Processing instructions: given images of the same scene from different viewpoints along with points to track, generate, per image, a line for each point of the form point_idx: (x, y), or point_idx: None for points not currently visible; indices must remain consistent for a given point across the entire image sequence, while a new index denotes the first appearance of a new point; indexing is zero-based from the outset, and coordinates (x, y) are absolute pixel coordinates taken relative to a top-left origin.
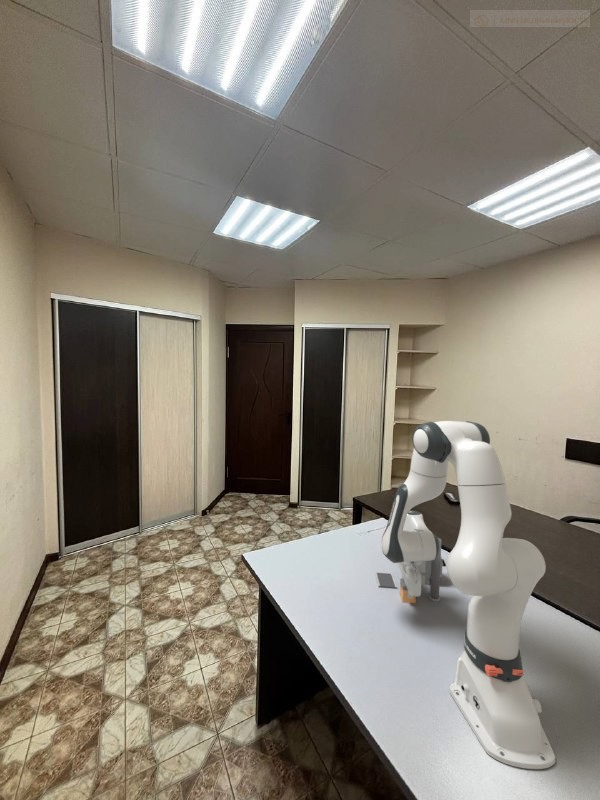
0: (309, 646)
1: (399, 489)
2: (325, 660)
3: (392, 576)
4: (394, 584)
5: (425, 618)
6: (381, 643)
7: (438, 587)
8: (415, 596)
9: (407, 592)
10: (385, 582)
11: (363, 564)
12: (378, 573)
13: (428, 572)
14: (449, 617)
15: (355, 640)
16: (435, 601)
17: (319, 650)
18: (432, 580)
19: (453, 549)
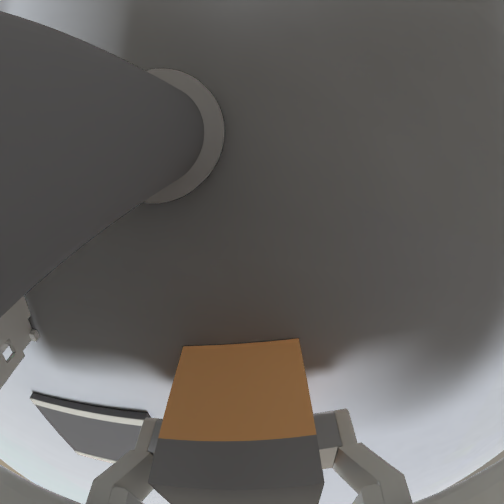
0: (447, 487)
1: None
2: (482, 463)
3: (52, 407)
4: (122, 423)
5: (463, 284)
6: (499, 417)
7: (129, 65)
8: (307, 387)
9: (337, 469)
10: (130, 448)
11: (51, 454)
12: (75, 447)
13: None
14: (445, 74)
15: (466, 456)
16: (223, 131)
17: (461, 477)
18: (32, 286)
19: None
